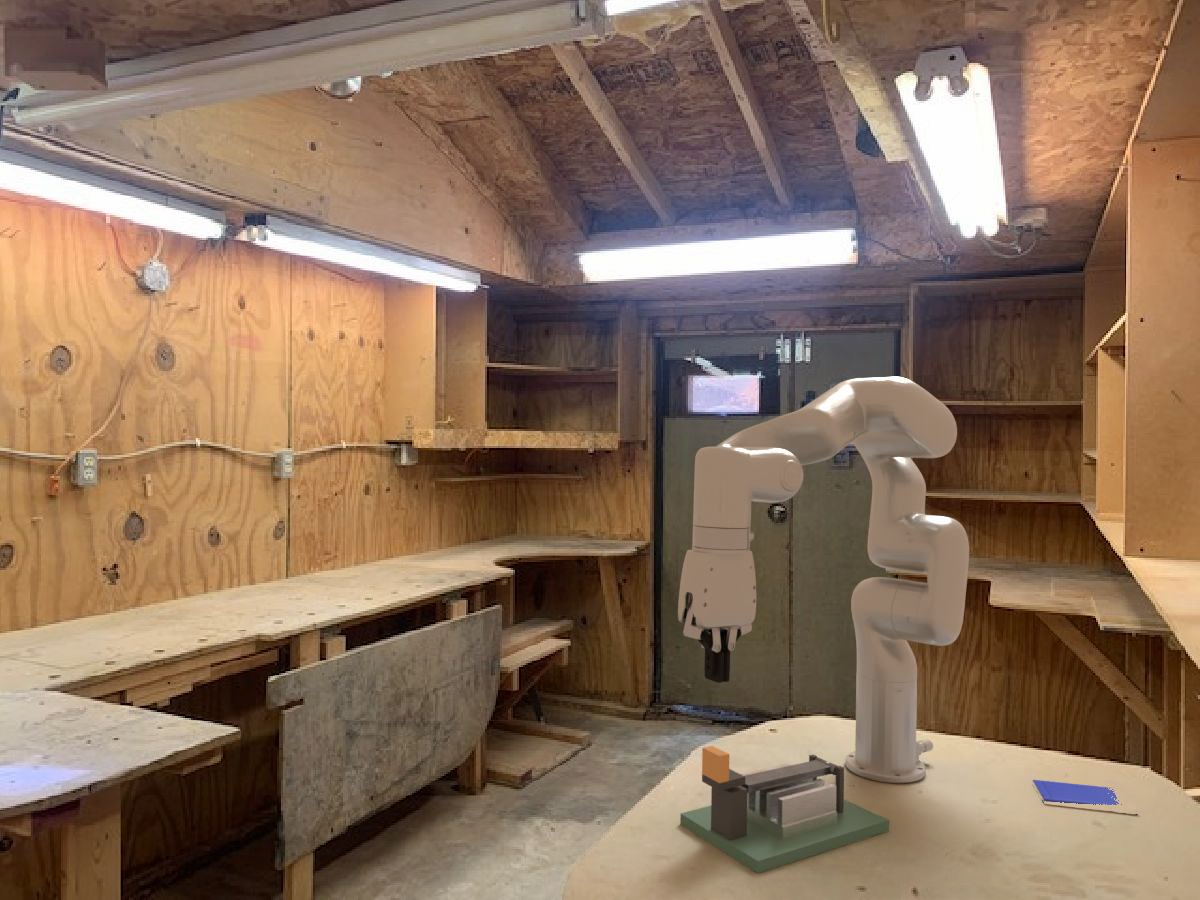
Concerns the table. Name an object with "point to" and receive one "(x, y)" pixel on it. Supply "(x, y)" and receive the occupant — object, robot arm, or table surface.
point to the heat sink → (793, 806)
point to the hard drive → (1074, 793)
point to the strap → (788, 775)
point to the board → (767, 850)
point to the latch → (719, 770)
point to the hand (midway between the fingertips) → (716, 679)
